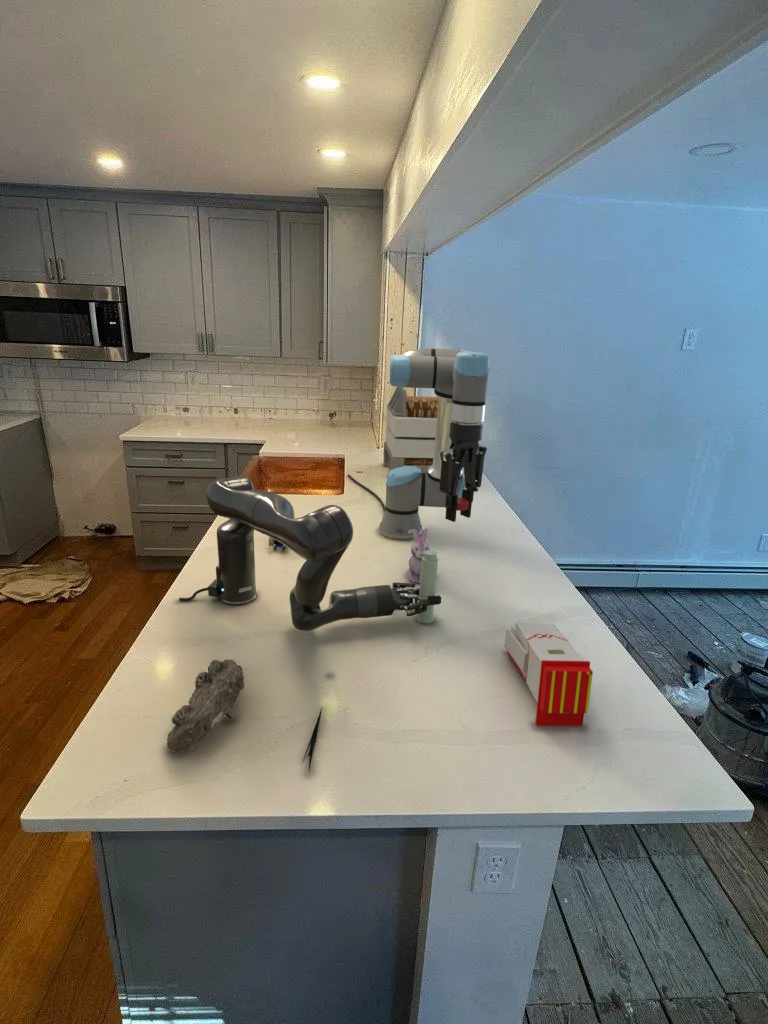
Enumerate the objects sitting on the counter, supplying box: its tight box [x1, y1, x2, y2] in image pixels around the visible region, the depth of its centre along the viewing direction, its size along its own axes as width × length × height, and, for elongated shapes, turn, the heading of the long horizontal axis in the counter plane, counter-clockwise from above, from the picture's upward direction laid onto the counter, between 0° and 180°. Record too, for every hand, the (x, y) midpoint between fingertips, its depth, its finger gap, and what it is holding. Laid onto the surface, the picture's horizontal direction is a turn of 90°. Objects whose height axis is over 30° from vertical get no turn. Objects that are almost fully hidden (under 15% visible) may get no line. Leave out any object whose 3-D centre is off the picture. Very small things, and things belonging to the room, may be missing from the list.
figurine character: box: [268, 536, 288, 552], centre depth 185 cm, size 7×8×15 cm
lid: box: [456, 498, 469, 512], centre depth 136 cm, size 5×5×2 cm
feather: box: [301, 673, 332, 771], centre depth 108 cm, size 2×28×2 cm
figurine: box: [407, 527, 431, 584], centre depth 166 cm, size 9×10×15 cm
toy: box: [503, 622, 594, 727], centre depth 121 cm, size 12×13×30 cm
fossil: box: [166, 658, 245, 754], centre depth 106 cm, size 22×10×15 cm
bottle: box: [416, 549, 439, 624], centre depth 142 cm, size 4×4×19 cm
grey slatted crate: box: [383, 387, 439, 472], centre depth 268 cm, size 34×33×41 cm
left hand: (437, 595), depth 144 cm, fingers closed on bottle, 4 cm apart
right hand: (457, 517), depth 137 cm, fingers closed on lid, 4 cm apart
